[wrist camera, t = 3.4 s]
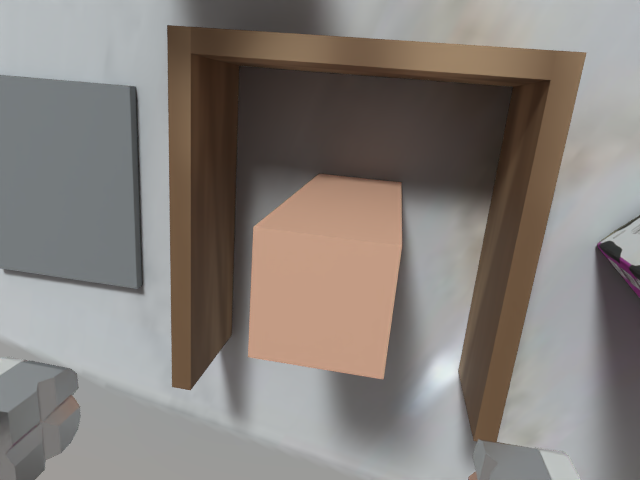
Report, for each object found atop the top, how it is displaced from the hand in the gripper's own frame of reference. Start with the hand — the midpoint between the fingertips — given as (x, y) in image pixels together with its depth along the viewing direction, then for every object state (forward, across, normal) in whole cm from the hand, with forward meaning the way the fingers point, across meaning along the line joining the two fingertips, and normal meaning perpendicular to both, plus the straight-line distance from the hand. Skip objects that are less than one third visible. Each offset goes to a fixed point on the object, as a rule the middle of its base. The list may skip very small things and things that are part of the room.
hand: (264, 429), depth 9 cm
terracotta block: (+18, 0, 0) cm, 18 cm away
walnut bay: (+18, 0, 0) cm, 18 cm away
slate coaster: (+18, +18, 0) cm, 25 cm away
